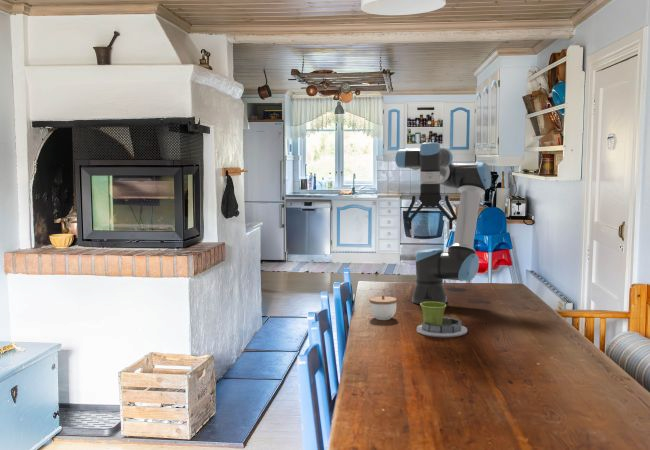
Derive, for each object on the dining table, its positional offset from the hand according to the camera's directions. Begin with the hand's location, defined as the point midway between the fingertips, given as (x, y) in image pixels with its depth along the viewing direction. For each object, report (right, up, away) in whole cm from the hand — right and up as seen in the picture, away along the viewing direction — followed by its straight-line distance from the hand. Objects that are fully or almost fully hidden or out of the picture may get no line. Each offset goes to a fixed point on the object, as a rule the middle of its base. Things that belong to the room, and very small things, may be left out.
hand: (430, 238), depth 260 cm
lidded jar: (-18, -32, +5) cm, 37 cm away
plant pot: (-2, -32, -16) cm, 36 cm away
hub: (+1, -33, -17) cm, 37 cm away
